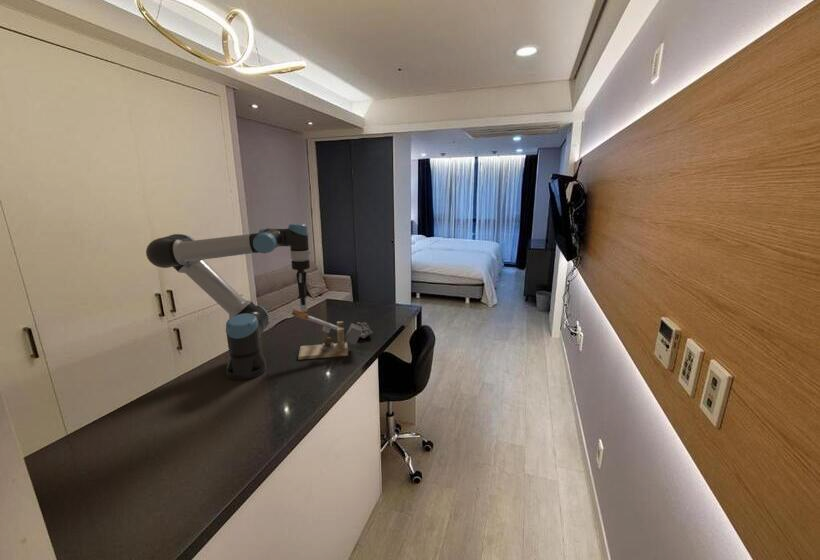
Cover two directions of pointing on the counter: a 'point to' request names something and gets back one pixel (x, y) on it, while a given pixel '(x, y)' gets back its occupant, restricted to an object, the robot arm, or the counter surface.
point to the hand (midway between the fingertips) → (303, 310)
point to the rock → (364, 329)
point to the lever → (333, 327)
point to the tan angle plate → (326, 347)
